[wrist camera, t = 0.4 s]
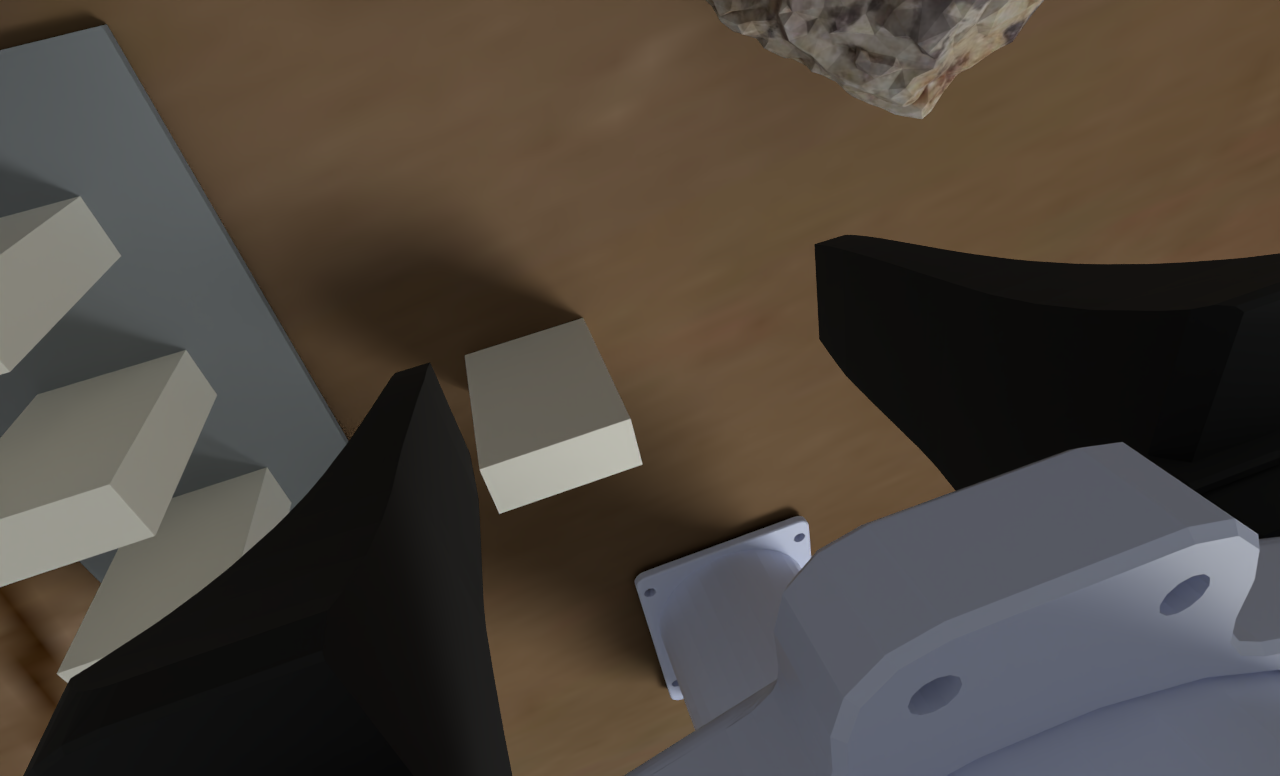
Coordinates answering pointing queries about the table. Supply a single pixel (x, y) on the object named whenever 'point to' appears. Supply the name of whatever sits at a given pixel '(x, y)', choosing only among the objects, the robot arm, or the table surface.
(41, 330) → the domino
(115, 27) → the table surface
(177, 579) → the domino
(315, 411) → the mat
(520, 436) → the domino
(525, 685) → the table surface
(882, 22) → the rock
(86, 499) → the domino
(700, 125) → the table surface
